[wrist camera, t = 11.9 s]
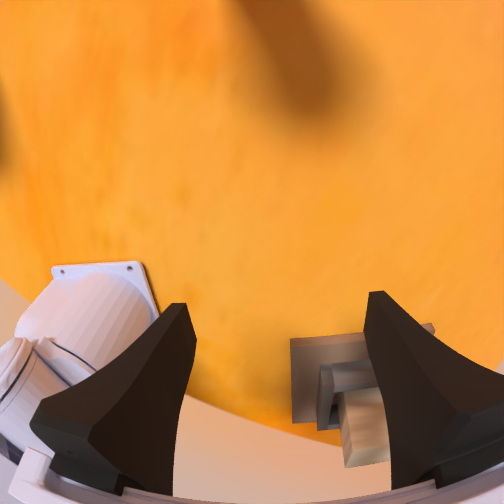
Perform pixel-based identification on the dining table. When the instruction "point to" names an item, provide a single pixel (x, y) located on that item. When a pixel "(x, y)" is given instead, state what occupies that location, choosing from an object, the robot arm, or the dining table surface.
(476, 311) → the dining table surface
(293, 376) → the socket block
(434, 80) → the dining table surface
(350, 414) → the square peg
